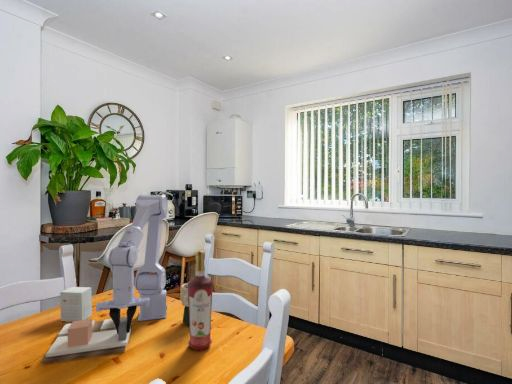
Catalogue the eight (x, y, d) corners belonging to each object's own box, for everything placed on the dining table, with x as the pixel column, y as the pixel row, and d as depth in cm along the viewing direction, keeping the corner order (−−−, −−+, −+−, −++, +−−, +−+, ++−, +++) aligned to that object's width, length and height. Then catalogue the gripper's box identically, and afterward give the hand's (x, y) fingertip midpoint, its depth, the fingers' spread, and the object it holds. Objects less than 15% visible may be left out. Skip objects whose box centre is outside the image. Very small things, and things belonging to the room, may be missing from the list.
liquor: (188, 354, 82) (187, 255, 81) (186, 341, 89) (186, 249, 89) (214, 351, 84) (214, 253, 83) (211, 338, 91) (211, 248, 90)
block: (92, 335, 88) (92, 319, 88) (87, 344, 83) (87, 326, 83) (73, 338, 86) (73, 321, 86) (67, 347, 82) (67, 329, 81)
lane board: (132, 320, 103) (132, 314, 103) (124, 352, 83) (124, 345, 83) (67, 328, 97) (67, 322, 97) (41, 364, 77) (41, 357, 77)
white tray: (130, 330, 93) (130, 315, 93) (127, 345, 84) (127, 328, 84) (57, 340, 87) (57, 323, 87) (46, 357, 78) (46, 338, 78)
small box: (92, 315, 107) (92, 287, 106) (81, 322, 101) (81, 292, 101) (71, 314, 107) (71, 286, 107) (60, 321, 102) (59, 291, 102)
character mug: (193, 331, 95) (193, 291, 95) (174, 328, 97) (174, 289, 97) (208, 317, 106) (208, 281, 105) (190, 314, 108) (190, 279, 107)
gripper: (93, 293, 82) (93, 342, 82) (148, 288, 86) (148, 334, 86) (98, 285, 89) (99, 330, 89) (149, 281, 93) (149, 323, 93)
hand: (123, 331), depth 88 cm, fingers closed on white tray, 2 cm apart
